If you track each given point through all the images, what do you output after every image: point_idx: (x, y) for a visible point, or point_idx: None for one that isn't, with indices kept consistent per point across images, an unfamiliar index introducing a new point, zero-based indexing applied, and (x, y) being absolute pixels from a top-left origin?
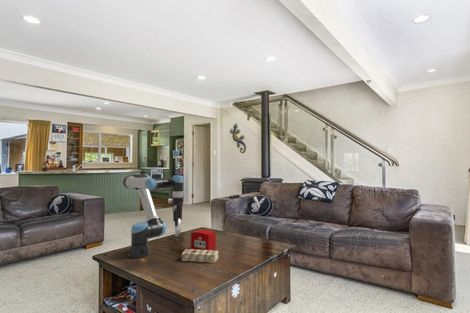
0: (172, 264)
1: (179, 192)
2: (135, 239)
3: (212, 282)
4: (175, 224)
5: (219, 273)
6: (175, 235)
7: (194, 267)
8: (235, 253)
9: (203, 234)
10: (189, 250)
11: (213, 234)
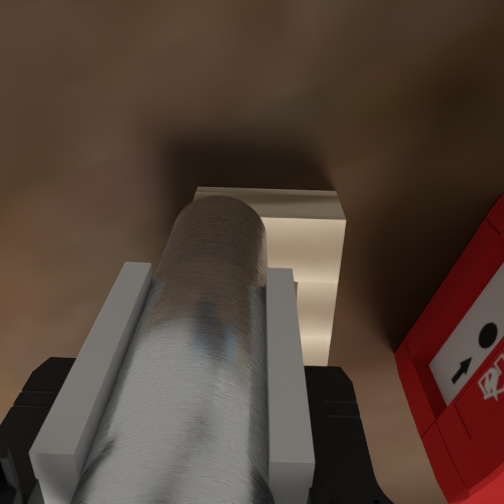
0: (79, 132)
1: None
2: None
3: None
4: (20, 405)
5: None
6: (179, 215)
7: (76, 321)
8: (403, 499)
9: (489, 461)
10: (294, 264)
11: None
